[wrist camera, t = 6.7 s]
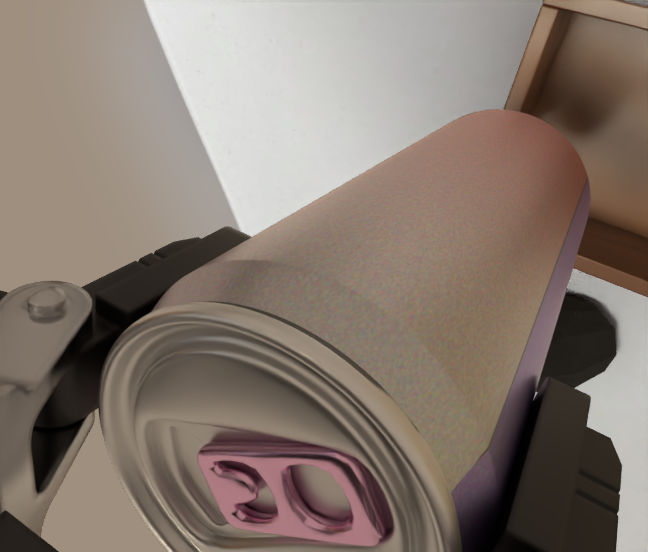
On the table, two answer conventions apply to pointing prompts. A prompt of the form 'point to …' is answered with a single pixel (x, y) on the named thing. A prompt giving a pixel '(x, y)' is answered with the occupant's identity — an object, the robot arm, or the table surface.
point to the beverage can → (357, 356)
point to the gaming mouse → (579, 344)
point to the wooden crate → (597, 121)
